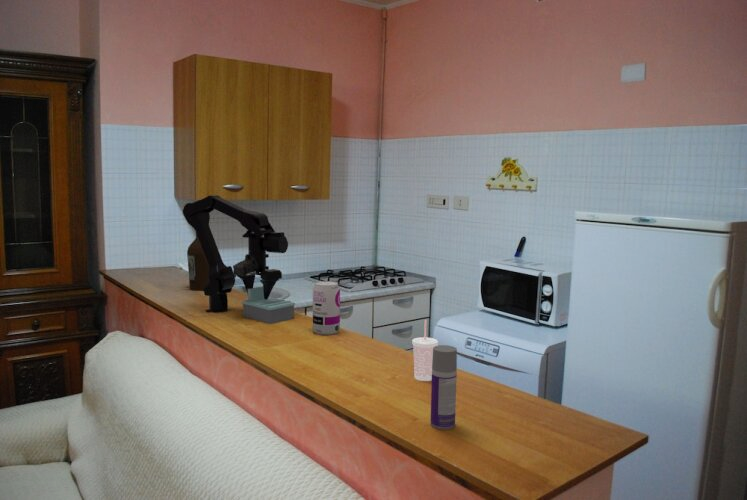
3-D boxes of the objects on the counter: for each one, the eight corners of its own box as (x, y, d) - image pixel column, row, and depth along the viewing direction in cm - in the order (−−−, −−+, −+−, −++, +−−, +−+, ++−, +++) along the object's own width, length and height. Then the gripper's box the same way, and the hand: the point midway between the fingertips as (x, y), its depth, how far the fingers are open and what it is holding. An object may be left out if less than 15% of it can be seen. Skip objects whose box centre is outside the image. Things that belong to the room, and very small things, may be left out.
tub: (243, 318, 192) (242, 303, 191) (267, 313, 199) (266, 298, 198) (270, 325, 183) (270, 310, 182) (294, 320, 190) (294, 305, 189)
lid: (242, 305, 191) (241, 289, 190) (266, 300, 199) (266, 284, 198) (270, 312, 182) (269, 295, 181) (295, 307, 190) (294, 290, 189)
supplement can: (341, 328, 180) (341, 281, 178) (337, 335, 172) (337, 286, 170) (315, 327, 181) (315, 280, 179) (310, 334, 172) (310, 285, 171)
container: (428, 419, 113) (430, 345, 111) (452, 419, 113) (454, 344, 111) (432, 430, 108) (435, 352, 106) (457, 429, 109) (460, 352, 107)
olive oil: (209, 285, 248) (208, 227, 245) (218, 289, 240) (217, 229, 236) (184, 287, 242) (182, 228, 239) (193, 292, 233) (191, 230, 230)
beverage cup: (406, 378, 136) (407, 320, 134) (419, 371, 141) (420, 315, 139) (429, 384, 132) (430, 324, 131) (441, 376, 138) (443, 319, 136)
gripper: (220, 250, 192) (220, 297, 194) (255, 256, 180) (255, 305, 181) (247, 248, 200) (248, 292, 202) (282, 253, 188) (283, 300, 190)
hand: (257, 297), depth 194 cm, fingers open, 8 cm apart
